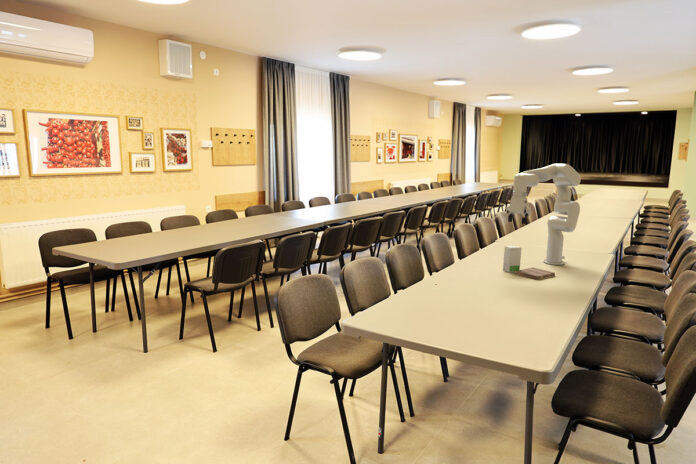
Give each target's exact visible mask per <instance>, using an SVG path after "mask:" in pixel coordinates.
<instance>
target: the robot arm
mask: <svg viewBox="0 0 696 464" xmlns="http://www.w3.org/2000/svg"><path fill="white" fill-rule="evenodd" d="M513 178H514V179H513V187H512V196H511V197H510V202H509V205H508V206H507V207H505V211H506V214H507V216H508V217H507V218H508V219H507V221H508V223H512V222H513V214H519V215H521V216H522V218H521V225H526V224H527V218H528V217H529V216H530V214H531V212H532V210H531V209H530V208H529V207H528V205H529V203H528V197H527V196H528V192H527V191H528V187H532V188H533V187H537V186H538V185H539V183H542V182H547V181H549V180H552V182H553V183H554V185H555V187H556V191H557V193H556V198H555V201H554V206H553V211H554V213H555V214H558V215H552V216H550V217H548V219H547V230H548V231H547V243H546V244H547V245H546V257H545V259H543V260H542V261H543V263H545V264H546V265H554V266H562V265H565V262H564V261H563V260H564V259H566V257H565V255H563V249H564V239H565V236H564V234H563V233H572V232H573V233H574V231H575V230H576V228H577V225H578V220H579V216H580V211H581V207H580V206H581V205H580V203H579V202H577V201H575V200H571V198H572V190H571V188H570V187H577V186H579V185H580V183H581V182H582V181H581V180H582V179H581V175H580V173H579V172H577V171H576V169H574V167H572V166H571V165H570V164H568V163H552V164H550V165H547V166H544V167H541V168H536V169H530V170H525V171H523V172H520V173H517V174H515V175H514V177H513ZM561 215H563V216H561Z"/></svg>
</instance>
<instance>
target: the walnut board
mask: <svg viewBox="0 0 696 464" xmlns="http://www.w3.org/2000/svg"><path fill="white" fill-rule="evenodd" d="M514 273H515V274H514V275H518V276H521V277H524V278H528V279H533V280H537V281H538V280H543V279H548V278H553V277H555V276H556V273H555V272H554V271H550V270H544V269H541V268H538V267H537V268H536V267H528V268H524V269H523V268H522V269H520V270H518V271H515V272H514Z"/></svg>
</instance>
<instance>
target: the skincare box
mask: <svg viewBox="0 0 696 464" xmlns="http://www.w3.org/2000/svg"><path fill="white" fill-rule="evenodd" d="M503 250H504V252H503V262H502V263H503V265H502V270H503V272H506V273H515V271H518V270H521V257H522V247H521V246H518V245H504V249H503Z"/></svg>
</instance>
